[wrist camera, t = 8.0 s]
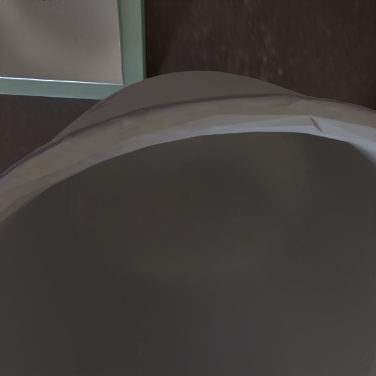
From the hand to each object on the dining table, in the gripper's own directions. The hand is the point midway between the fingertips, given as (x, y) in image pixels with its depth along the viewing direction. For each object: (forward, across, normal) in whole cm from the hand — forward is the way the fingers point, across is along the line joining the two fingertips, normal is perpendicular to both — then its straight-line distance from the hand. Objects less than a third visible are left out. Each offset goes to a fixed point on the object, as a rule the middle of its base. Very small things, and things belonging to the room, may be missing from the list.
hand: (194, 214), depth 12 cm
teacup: (+1, 0, 0) cm, 1 cm away
